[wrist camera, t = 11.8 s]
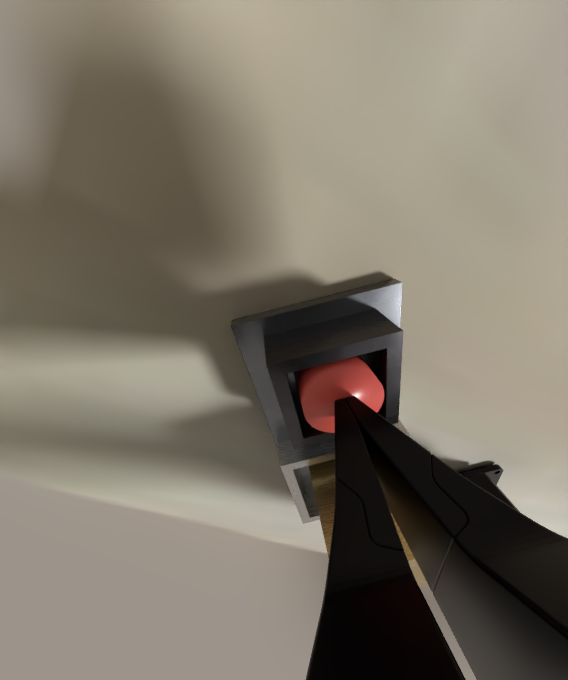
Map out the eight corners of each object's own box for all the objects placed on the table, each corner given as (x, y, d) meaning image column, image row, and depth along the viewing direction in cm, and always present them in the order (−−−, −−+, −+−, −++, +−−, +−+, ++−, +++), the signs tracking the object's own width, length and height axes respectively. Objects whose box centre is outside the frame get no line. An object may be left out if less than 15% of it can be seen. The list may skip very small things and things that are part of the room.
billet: (373, 471, 17) (427, 585, 12) (315, 486, 17) (343, 606, 12) (372, 433, 15) (437, 553, 10) (304, 450, 15) (333, 580, 10)
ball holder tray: (389, 471, 19) (409, 510, 16) (297, 494, 19) (304, 537, 16) (394, 278, 10) (438, 300, 8) (232, 320, 10) (226, 354, 8)
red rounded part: (360, 383, 13) (384, 421, 10) (299, 399, 13) (310, 440, 10) (357, 330, 11) (384, 361, 9) (286, 348, 11) (296, 384, 9)
